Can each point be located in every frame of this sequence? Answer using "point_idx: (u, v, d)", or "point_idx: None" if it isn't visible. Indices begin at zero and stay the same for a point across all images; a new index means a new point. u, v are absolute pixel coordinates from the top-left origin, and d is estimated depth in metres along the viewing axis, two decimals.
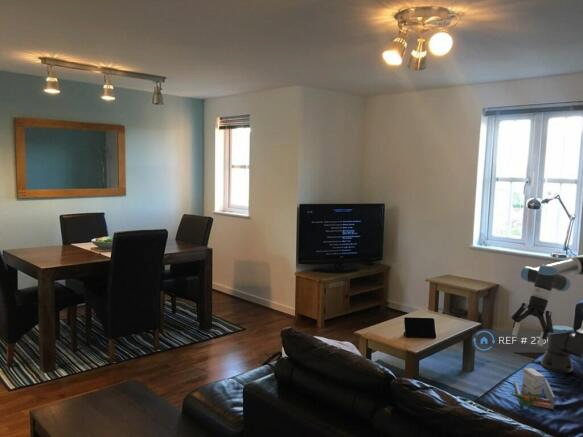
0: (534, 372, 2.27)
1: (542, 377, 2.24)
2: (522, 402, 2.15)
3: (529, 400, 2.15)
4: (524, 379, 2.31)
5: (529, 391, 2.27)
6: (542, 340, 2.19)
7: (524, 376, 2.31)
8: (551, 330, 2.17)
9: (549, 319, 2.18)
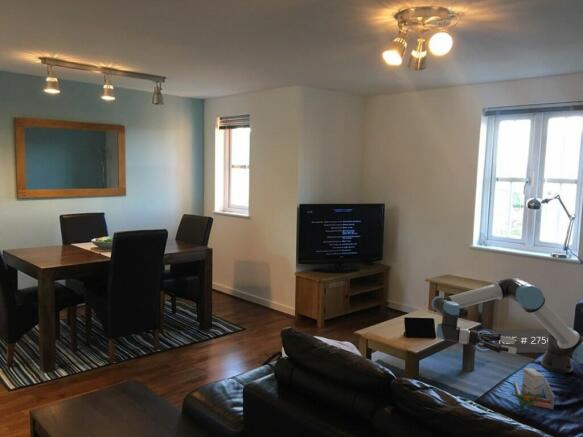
0: (534, 372, 2.27)
1: (542, 377, 2.24)
2: (522, 402, 2.15)
3: (529, 400, 2.15)
4: (524, 379, 2.31)
5: (529, 391, 2.27)
6: (510, 350, 2.24)
7: (524, 376, 2.31)
8: (497, 349, 2.24)
9: (486, 346, 2.27)
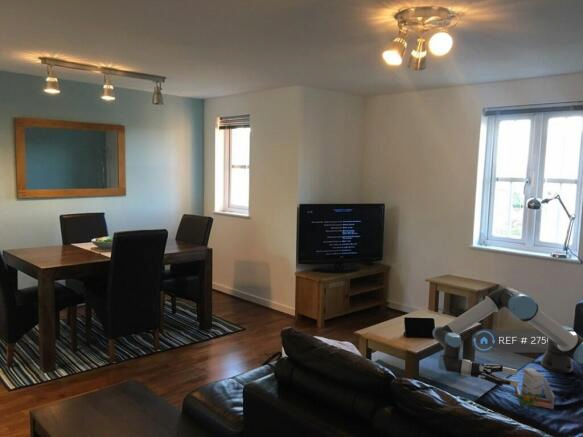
0: (534, 372, 2.27)
1: (542, 377, 2.24)
2: (522, 402, 2.15)
3: (529, 400, 2.15)
4: (524, 379, 2.31)
5: (529, 391, 2.27)
6: (511, 383, 2.25)
7: (524, 376, 2.31)
8: (498, 383, 2.25)
9: (488, 379, 2.29)
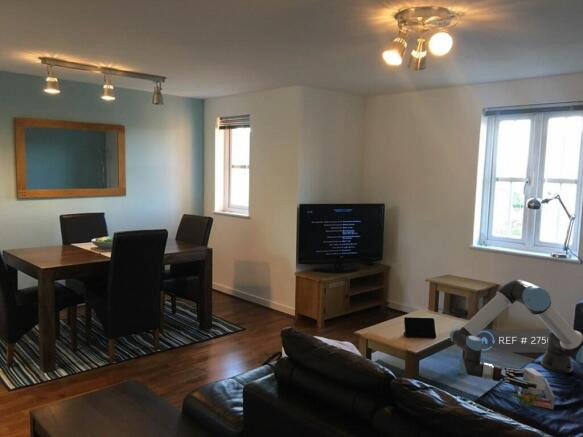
0: (534, 372, 2.27)
1: (542, 377, 2.24)
2: (522, 402, 2.15)
3: (529, 400, 2.15)
4: (524, 379, 2.31)
5: (529, 391, 2.27)
6: (538, 386, 2.23)
7: (524, 376, 2.31)
8: (524, 386, 2.22)
9: (513, 383, 2.25)
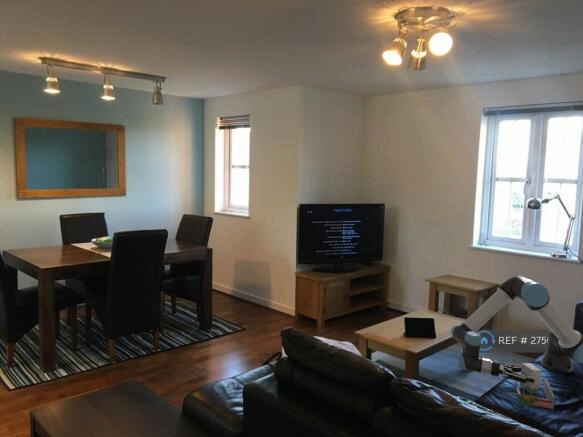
0: (532, 367, 2.31)
1: (540, 372, 2.28)
2: (522, 402, 2.15)
3: (529, 400, 2.15)
4: (522, 374, 2.34)
5: (527, 385, 2.31)
6: (535, 380, 2.26)
7: (522, 371, 2.35)
8: (522, 380, 2.26)
9: (511, 378, 2.29)
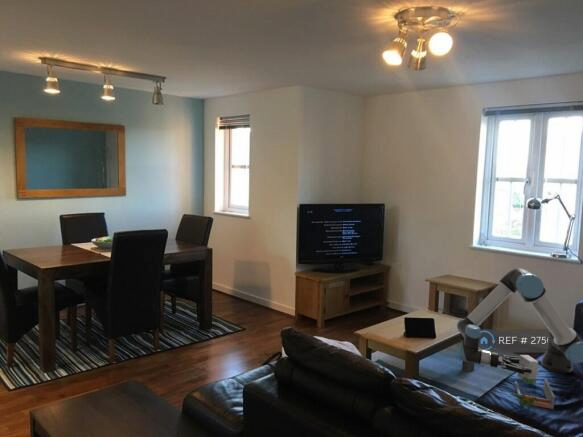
0: (529, 358, 2.41)
1: (537, 363, 2.38)
2: (522, 402, 2.15)
3: (529, 400, 2.15)
4: (520, 365, 2.45)
5: (524, 376, 2.41)
6: (533, 371, 2.37)
7: (520, 362, 2.45)
8: (520, 371, 2.36)
9: (509, 368, 2.39)
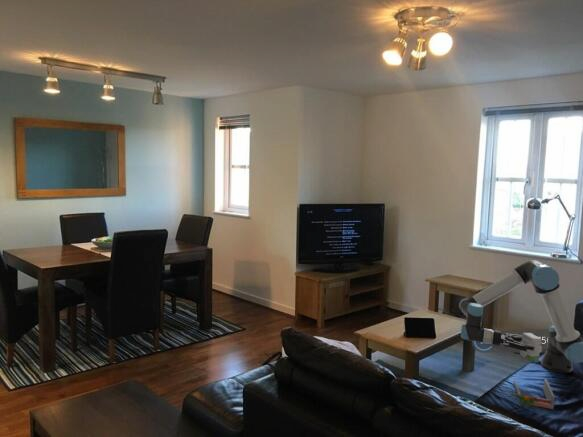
0: (532, 336, 2.40)
1: (539, 340, 2.36)
2: (522, 402, 2.15)
3: (529, 400, 2.15)
4: None
5: (527, 353, 2.39)
6: (535, 348, 2.35)
7: (522, 340, 2.43)
8: (523, 348, 2.35)
9: (512, 346, 2.38)
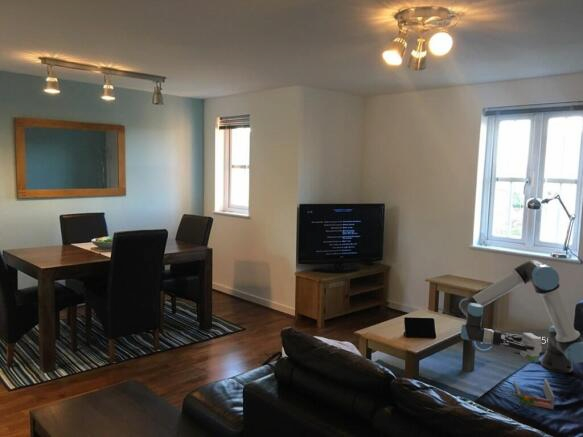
0: (532, 336, 2.40)
1: (539, 340, 2.36)
2: (522, 402, 2.15)
3: (529, 400, 2.15)
4: None
5: (527, 353, 2.39)
6: (535, 348, 2.35)
7: (522, 340, 2.43)
8: (523, 348, 2.35)
9: (512, 346, 2.38)
